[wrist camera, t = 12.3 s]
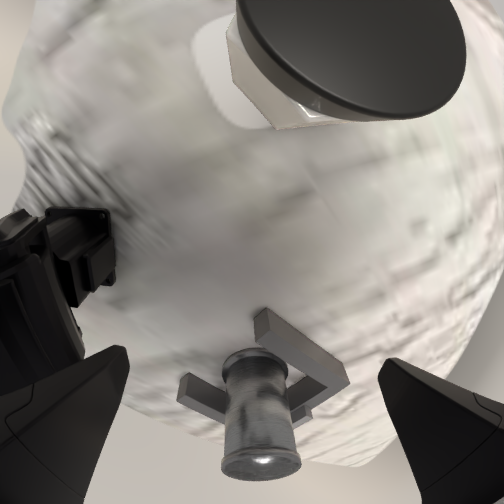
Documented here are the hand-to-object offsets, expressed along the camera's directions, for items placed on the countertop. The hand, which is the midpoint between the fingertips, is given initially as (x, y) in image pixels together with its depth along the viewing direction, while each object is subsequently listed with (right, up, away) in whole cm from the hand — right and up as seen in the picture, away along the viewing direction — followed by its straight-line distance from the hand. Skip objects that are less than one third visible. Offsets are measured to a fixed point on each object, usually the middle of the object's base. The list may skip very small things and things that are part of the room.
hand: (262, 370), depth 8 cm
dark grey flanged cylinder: (0, -8, +17) cm, 19 cm away
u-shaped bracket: (0, -8, +17) cm, 19 cm away
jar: (+3, +16, +8) cm, 18 cm away
